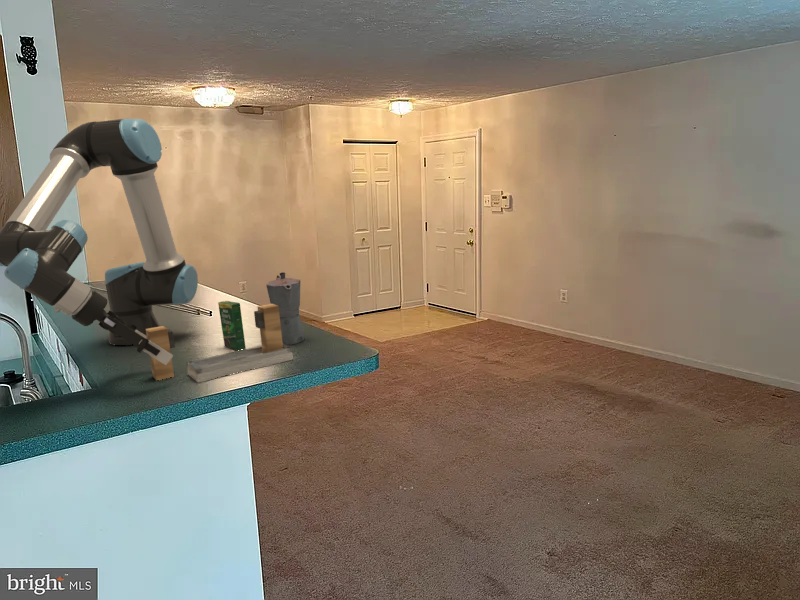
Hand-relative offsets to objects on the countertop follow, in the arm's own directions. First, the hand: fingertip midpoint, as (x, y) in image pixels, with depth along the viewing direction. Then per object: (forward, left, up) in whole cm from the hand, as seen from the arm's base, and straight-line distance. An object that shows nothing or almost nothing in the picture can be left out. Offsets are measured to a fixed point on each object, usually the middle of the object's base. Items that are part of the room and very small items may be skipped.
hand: (162, 354), depth 139 cm
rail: (+7, +17, -6) cm, 19 cm away
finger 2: (+7, +25, -4) cm, 26 cm away
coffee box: (-12, +22, -6) cm, 26 cm away
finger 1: (0, 0, -6) cm, 6 cm away
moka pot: (-7, +36, -6) cm, 37 cm away
